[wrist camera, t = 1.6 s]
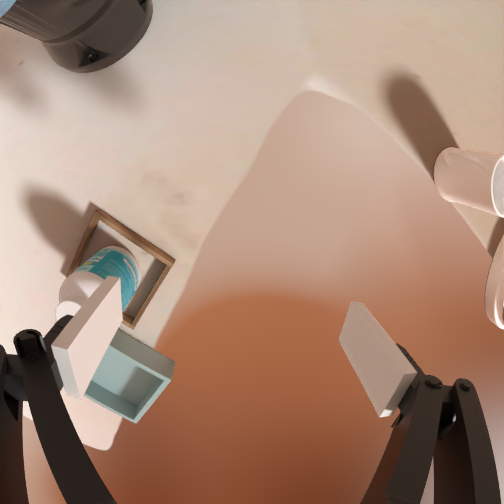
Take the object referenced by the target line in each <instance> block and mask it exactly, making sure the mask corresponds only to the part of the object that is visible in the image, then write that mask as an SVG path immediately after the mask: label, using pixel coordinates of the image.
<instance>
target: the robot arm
mask: <svg viewBox="0 0 504 504" xmlns="http://www.w3.org/2000/svg"><path fill="white" fill-rule="evenodd" d="M152 13H153V5H152V1H151V0H0V23H1V24H3V25H6V26H8V27H11V28H13V29H16V30H18V31H20V32H23V33H25V34H27V35H29V36H32V37H34V38H36V39H38V40H40V41H42V42H43V44H44V45H45V47H46V49H47V50H48V52H49V54H50V56H51V57H52V59H53V60H54V61H55V62H56V63H57V64H58V65H60V66H62V67H64V68H66V69H68V70H70V71H73V72H79V73H87V72H93V71H97V70H100V69H103V68H105V67H107V66H109V65H111V64H113V63H115V62H117V61H118V60H120V59H121V58H122V57H124V56H125V55H126V54H127V53H129V52H130V51H131V50H132V49H133V48H134V47H135V46H136V45H137V44H138V42H139V41H140V40H141V39H142V37H143V36H144V34H145V32H146V31H147V29H148V27H149V24H150V22H151V18H152ZM122 321H123V317H122V302H121V280H120V277H113V276H107V277H106V279H105V280H104V281H103V282H102V283H101V284H100V285H99V287H98V288H97V289H96V290H95V291H94V292H93V294H92V295H91V296H90V297H89V298H88V300H87V301H86V302H85V303H84V304H83V306H82V307H81V308H80V309H79V310H78V312H77V313H76V314H75V315H74V316H72V315H68V314H67V315H65V316H64V317H62V318H60V319H59V320H58V321H57V322H56V323H55V325H54V326H53V327H52V328H51V329H50V331H49V332H48V333H47V334H46V336H45V337H44V338H43V337H42V335H41V333H40V332H39V331H37V330H33V329H26V330H23V331H20V332H19V333H17V334H16V336H15V337H14V341H13V342H14V345H15V348H16V351H17V354H18V355H12V354H6V352H5V349H4V347H3V346H2V345H0V504H29V502H28V495H27V488H26V480H25V471H24V459H23V438H22V412H23V401H28V403H29V407H30V410H31V414H32V417H33V421H34V424H35V427H36V431H37V434H38V437H39V440H40V442H41V445H42V448H43V451H44V453H45V456H46V459H47V461H48V464H49V466H50V469H51V471H52V473H53V475H54V478H55V480H56V482H57V484H58V486H59V489H60V491H61V493H62V495H63V497H64V499H65V501H66V503H67V504H117V503H116V501H115V500H114V498H113V497H112V495H111V494H110V492H109V491H108V489H107V488H106V486H105V485H104V483H103V481H102V479H101V478H100V476H99V474H98V473H97V471H96V469H95V467H94V465H93V464H92V462H91V460H90V458H89V456H88V454H87V453H86V451H85V449H84V447H83V445H82V443H81V440H80V438H79V436H78V434H77V432H76V430H75V428H74V426H73V423H72V421H71V419H70V416H69V414H68V412H67V409H66V407H65V404H64V402H63V399H62V397H61V394H60V391H61V389H62V387H63V386H64V389H65V392H66V395H68V396H71V397H75V398H78V399H82V398H83V395H84V393H85V391H86V389H87V387H88V385H89V383H90V381H91V379H92V377H93V375H94V373H95V371H96V369H97V367H98V365H99V363H100V361H101V359H102V357H103V356H104V354H105V352H106V350H107V348H108V346H109V344H110V342H111V341H112V339H113V337H114V335H115V333H116V331H117V330H118V328H119V326H120V324H121V322H122ZM339 342H340V344H341V346H342V348H343V349H344V351H345V353H346V355H347V357H348V359H349V361H350V362H351V364H352V366H353V368H354V370H355V372H356V374H357V376H358V377H359V379H360V381H361V383H362V385H363V387H364V389H365V391H366V392H367V395H368V397H369V398H370V400H371V402H372V404H373V406H374V408H375V410H376V412H377V414H378V416H379V417H384V416H390V415H393V413H394V411H395V410H396V408H397V407H398V408H399V409H400V411H401V413H400V414H399V415H398V417H397V418H396V420H395V421H394V423H393V424H392V426H391V427H394V428H393V431H392V434H391V437H390V439H389V442H388V444H387V447H386V449H385V452H384V454H383V456H382V459H381V461H380V464H379V466H378V468H377V470H376V472H375V474H374V477H373V479H372V481H371V483H370V485H369V487H368V489H367V491H366V493H365V495H364V497H363V499H362V501H361V503H360V504H420V501H421V498H422V495H423V492H424V488H425V485H426V481H427V477H428V473H429V470H430V466H431V461H432V457H433V460H434V504H501V498H500V490H499V482H498V476H497V470H496V465H495V460H494V455H493V450H492V445H491V441H490V437H489V433H488V429H487V425H486V422H485V418H484V414H483V411H482V408H481V405H480V401H479V398H478V395H477V392H476V389H475V387H474V385H473V384H472V383H471V382H470V381H468V380H467V379H462V378H460V379H457V380H456V381H455V383H454V385H453V386H445V385H443V384H442V382H441V381H440V380H439V379H438V378H436V377H434V376H431V375H425V374H424V373H423V371H422V370H421V369H420V367H419V366H418V365H417V364H416V362H415V361H413V358H412V357H411V356H409V353H408V352H407V351H406V350H405V348H403V347H402V346H400V345H399V344H395V343H394V341H393V340H392V339H391V338H390V336H389V335H388V334H387V333H386V331H385V330H384V329H383V328H382V326H381V325H380V324H379V322H378V321H377V320H376V319H375V318H374V316H373V315H372V314H371V313H370V311H369V310H368V309H367V308H366V307H365V305H364V304H363V303H362V302H351V303H350V306H349V310H348V313H347V316H346V319H345V322H344V325H343V328H342V331H341V334H340V337H339Z"/></svg>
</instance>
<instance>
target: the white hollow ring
mask: <svg viewBox="0 0 504 504" xmlns="http://www.w3.org/2000/svg"><path fill="white" fill-rule="evenodd" d="M485 309H486V313H487V316H488V318H489V319H490V320H491V321H492V322H493V323H494V324H496V325H497V326H498V327H499V328H501V329H504V235H503V237H502V239H501V241H500V243H499V245H498V247H497V250H496V252H495V255H494V258H493V259H492V262H491V265H490V269H489V273H488V277H487V282H486V288H485Z"/></svg>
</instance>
